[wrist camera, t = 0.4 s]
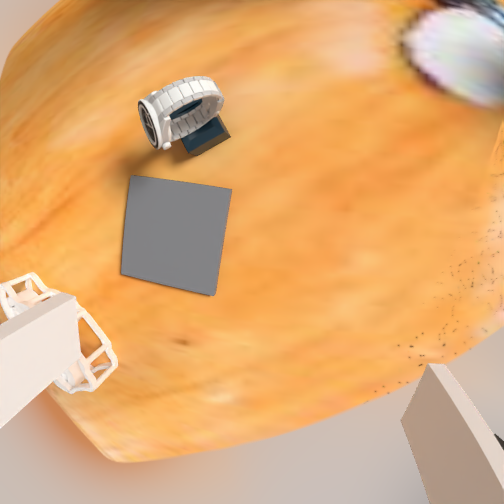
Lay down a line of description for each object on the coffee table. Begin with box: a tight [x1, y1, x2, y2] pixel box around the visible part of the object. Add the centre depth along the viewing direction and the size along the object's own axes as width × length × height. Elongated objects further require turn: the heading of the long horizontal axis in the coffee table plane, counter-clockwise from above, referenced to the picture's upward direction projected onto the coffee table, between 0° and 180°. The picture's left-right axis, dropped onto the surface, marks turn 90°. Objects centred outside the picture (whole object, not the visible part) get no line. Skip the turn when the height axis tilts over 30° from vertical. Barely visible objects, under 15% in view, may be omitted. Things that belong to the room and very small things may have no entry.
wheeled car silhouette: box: [0, 272, 118, 394], centre depth 36 cm, size 20×11×7 cm, turn 40°
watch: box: [138, 76, 231, 156], centre depth 27 cm, size 6×8×11 cm
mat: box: [121, 175, 232, 296], centre depth 35 cm, size 12×12×1 cm
